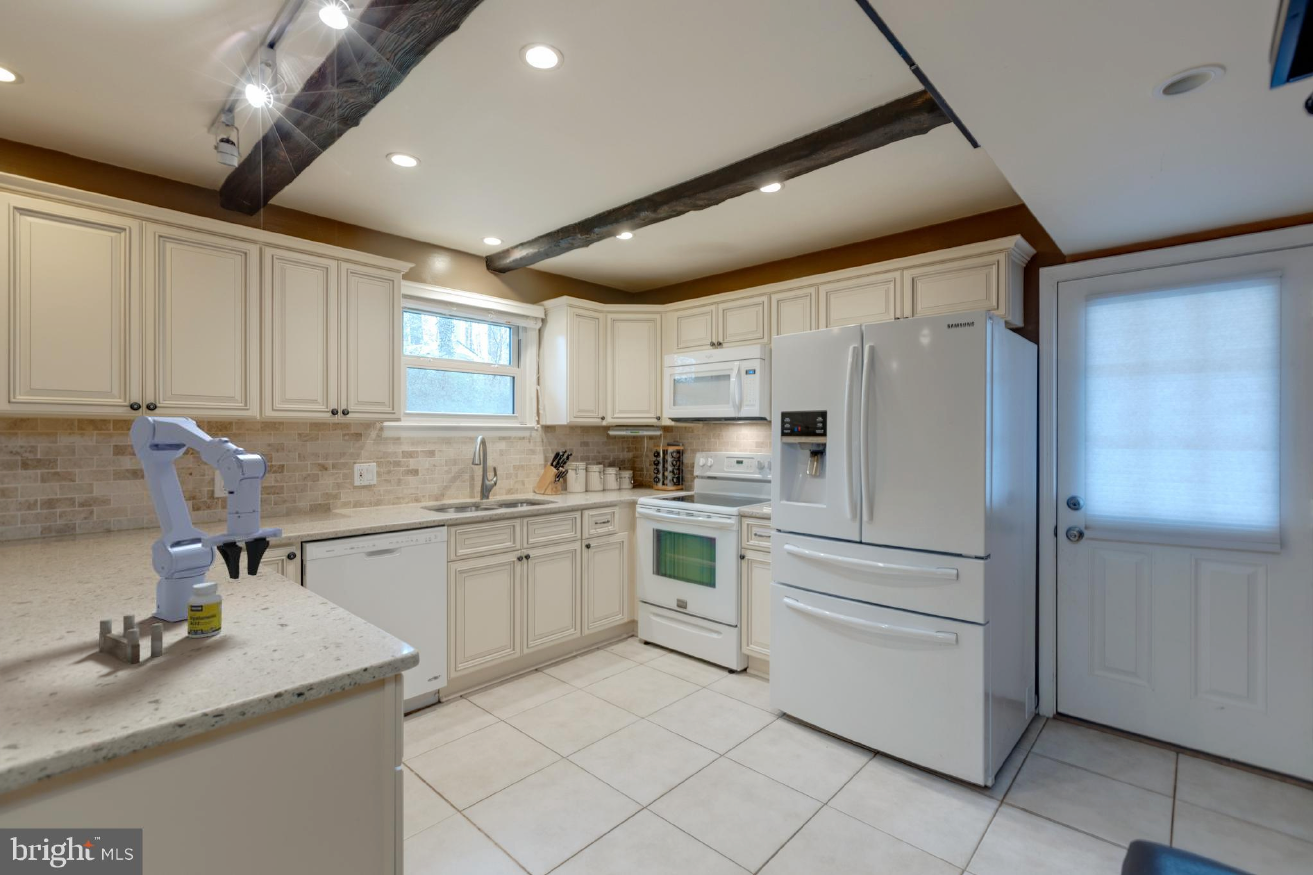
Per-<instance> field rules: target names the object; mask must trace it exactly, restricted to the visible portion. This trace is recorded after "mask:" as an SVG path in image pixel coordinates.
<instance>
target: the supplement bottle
mask: <svg viewBox="0 0 1313 875" xmlns="http://www.w3.org/2000/svg"><path fill="white" fill-rule="evenodd" d="M218 591H219V584H218V583H217V582H206V583H201V584H197V585H194V586H193V589H192V592H193V594H194V596H193V597H191V598H190V599H189V600H188V619H187V636H188V637H189V638H191V639H192V638H193V639H199V638H201V639H202V638H207V636H208V637H212V635H213V636H215V635H218V634H220V633H221V631H222V627H223V626H222V621H223V620H222V618H223V617H222V616H223V615H222V614H223V613H222V612H223V608H222V606H223V598H222V597H223V596H222V595H221V594H220V593H217V592H218Z"/></svg>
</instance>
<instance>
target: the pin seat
mask: <svg viewBox="0 0 1313 875" xmlns="http://www.w3.org/2000/svg"><path fill="white" fill-rule="evenodd" d="M122 619H123V621H122V622H123V630H122V631H123V632H122V633H123V636H120V635H118V634H115V633H113V628H112V627H113V626H112V624H113V620H112V618H111V619H110V618H107V619H102V620H100V621H99V634H98V635H99V636H98V637H99V638H98V641H99V643H98V644H99V645H98V646H99V647H98V651H99V653H105V654H107V655H110V656H112V657H115V658H117V659H120V660H122V661H124V662H126V664H132V665H133V664H138V663H140V662H141V658H140V657H141V654H140V653H141V643H140V628H136V626H135V625H136V614H134V613H132V614H131V613H130V614H126V615H125V614H124V615H123V618H122ZM163 624H164V623H162V622H161V623H159V622H158V623H154V624H151V625H150V657H151V658H157V657H161V656H162V655H163V654H164V653H163V644H164V642H163V633H164V632H163V631H164V629H163V628H164V627H163Z"/></svg>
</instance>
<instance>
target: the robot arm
mask: <svg viewBox="0 0 1313 875" xmlns="http://www.w3.org/2000/svg"><path fill="white" fill-rule="evenodd" d="M129 437H130V441H131V443H132V447H133V451H134V453H135V456H136V458H138V459H140V462H141V466H142V471H143V473H144V476H145V480H146V484H147V486H148V490H149V494H150V498H151V500H152V502H153V503H152V504H153V506H154V510H155V513H156V516H157V520H158V523H159V527H160V529H161V533H162V535H161V536H159V537H158V538H157V539H156V540H155V541H154V542H153V543H152V545H151V547H150V549H151V553H152V559H151V564H152V568H153V570H154V572H155V573H156V574H157V575H158V576H159V578H160V579H158V581H157V584H156V587H155V588H156V589H155V591H156V593H155V594H156V598H155V600H156V601H155V604H156V605H155V609H156V611H154V612H151V613H150V616H152V617H155V618H157V619H161V620H165V621H167V622H170V623H175V622H178V621H183V620H188V600H189V599H190V598H191V597H193V596H194V594H193V592H192V589H193V586H194V585H197V584H201V583H207V582H206V580H207V579H206V575H207V572H209V571H210V568H211V567H212V566H213V565H214V564H215V561H216V558H217V551H218V552H219V554H220V556H221V557H222V559H223V561H224V563H225V566H226V569H227V570H228V575H229V579H232V580H238V579H239V578H240V561H241V555H242V550H243V547H242V546H239V544H240V543H244V545H245V546H244V547H245V550H246V557H247V558H246V560H247V562H246V564H247V566H246V567H247V568H246V570H247V575H248V576H249V575H250V576H253V577H254V576H257V575H258V570H259V567H260V564H261V561H262V559H263V556H264V555H265V552H266V551H267V549H268V548H269V546H270V540H269V539H273V538H274V539H275V538H277V539H278V538H282V537H283V528H281V527H271V528H261V481H262V480H263V479H264V478H265V477H266V475H267V473H268V467H269V466H268V462H267V459H266V458H265V457H264V456H263V455H262V454H261V453H259V452H257V453H255V452H253V453H248V452H246V451H245V449H244V448H242V447H238V446H236V445H235V444H233V443H231V441H230V439H229V438H227V437H216V438H215V437H214V438H212V437H211V436H210V435H208V433H206V432H204V431H203V430H202V429H200V428H199V427H198V426H197V422H196V421H195V420H193V419H191V418H190V417H188V416H181V417H179V416H178V417H176V416H175V417H174V416H173V417H172V416H170V417H169V416H147V415H140V416H137V417H136V418H135V419H134V420H133V422H132V424H131V427H130V430H129ZM188 447H190V448H191V449H193V450H196V451H198V452H199V454H200V458H201V460H202V461H203V462H205V463H206V464H208V465H209V466H212V467H213V468H215V469H217V470H218V471H219V473H220V476H221V479H222V480H223V488H224V490H225V491H226V532H225V533H220V534H215V535H210V536H208V533H206V532H205V531H202V530H200V529H198V528H196V527H194V526H193V523H192V519H191V517H190V512H189V510H188V507H187V503H186V500H185V497H184V494H183V491H182V486H181V484H180V480H179V477H178V475H177V474H178V473H177V472H176V467H175V464H174V461H175V459H177V458H179V457H182V456H183V454H184V453H185V451H186V450H187V448H188ZM216 550H217V551H216Z"/></svg>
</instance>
